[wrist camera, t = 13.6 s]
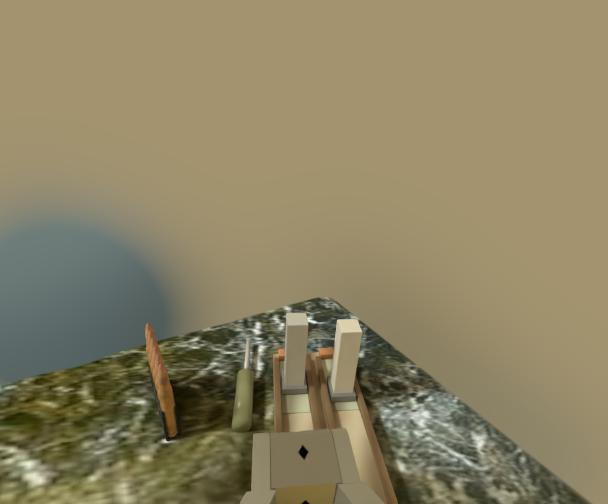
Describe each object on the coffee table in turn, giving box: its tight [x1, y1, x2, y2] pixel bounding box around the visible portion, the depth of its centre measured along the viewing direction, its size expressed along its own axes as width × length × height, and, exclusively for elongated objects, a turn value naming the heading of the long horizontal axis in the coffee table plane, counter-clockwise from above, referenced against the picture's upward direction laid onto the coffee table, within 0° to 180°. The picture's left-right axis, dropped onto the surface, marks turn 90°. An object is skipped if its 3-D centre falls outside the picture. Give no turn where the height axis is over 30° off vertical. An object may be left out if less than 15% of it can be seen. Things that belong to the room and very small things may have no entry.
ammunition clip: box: [145, 323, 181, 441], centre depth 43 cm, size 11×2×12 cm, turn 33°
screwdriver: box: [232, 340, 254, 432], centre depth 50 cm, size 17×3×3 cm, turn 6°
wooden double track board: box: [273, 348, 398, 504], centre depth 43 cm, size 13×29×2 cm, turn 6°
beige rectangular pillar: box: [327, 319, 362, 402], centre depth 46 cm, size 4×4×12 cm
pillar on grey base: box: [281, 313, 308, 394], centre depth 46 cm, size 4×4×12 cm
